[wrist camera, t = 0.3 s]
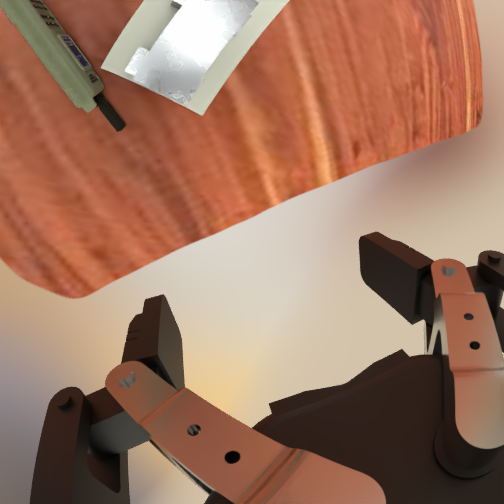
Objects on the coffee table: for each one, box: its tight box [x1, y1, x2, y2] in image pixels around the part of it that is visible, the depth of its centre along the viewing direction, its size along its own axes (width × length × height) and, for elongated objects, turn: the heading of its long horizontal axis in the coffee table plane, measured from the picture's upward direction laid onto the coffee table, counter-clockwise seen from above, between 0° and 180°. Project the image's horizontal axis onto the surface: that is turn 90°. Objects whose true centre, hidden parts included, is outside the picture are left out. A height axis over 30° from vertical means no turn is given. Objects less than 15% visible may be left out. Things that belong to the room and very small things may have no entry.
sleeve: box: [125, 0, 259, 105], centre depth 23 cm, size 8×12×9 cm, turn 145°
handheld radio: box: [0, 0, 125, 132], centre depth 21 cm, size 7×3×25 cm
